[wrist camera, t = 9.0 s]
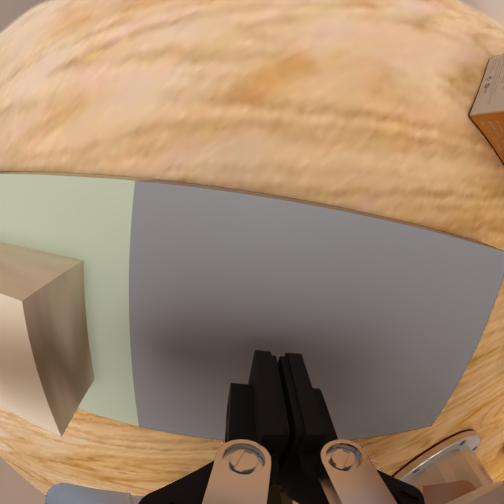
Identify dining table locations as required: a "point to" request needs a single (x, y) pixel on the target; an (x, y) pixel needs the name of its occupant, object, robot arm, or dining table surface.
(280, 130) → the dining table surface
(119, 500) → the robot arm
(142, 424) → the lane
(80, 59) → the dining table surface
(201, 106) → the dining table surface
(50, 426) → the block
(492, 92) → the small box
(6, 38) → the dining table surface
